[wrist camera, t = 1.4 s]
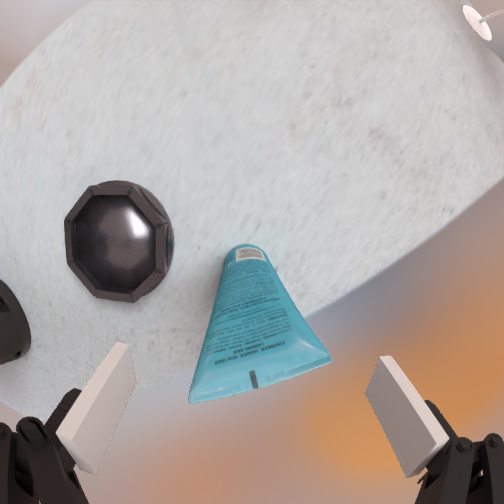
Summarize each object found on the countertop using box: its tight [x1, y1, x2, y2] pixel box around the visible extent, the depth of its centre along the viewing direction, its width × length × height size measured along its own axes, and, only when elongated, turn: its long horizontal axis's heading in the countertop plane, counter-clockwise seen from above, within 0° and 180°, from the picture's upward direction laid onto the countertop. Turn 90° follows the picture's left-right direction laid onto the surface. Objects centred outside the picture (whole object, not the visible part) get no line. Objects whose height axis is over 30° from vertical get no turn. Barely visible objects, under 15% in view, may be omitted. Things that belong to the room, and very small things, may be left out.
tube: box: [189, 244, 333, 404], centre depth 21 cm, size 7×5×19 cm, turn 116°
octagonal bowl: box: [64, 180, 174, 303], centre depth 28 cm, size 14×14×2 cm
